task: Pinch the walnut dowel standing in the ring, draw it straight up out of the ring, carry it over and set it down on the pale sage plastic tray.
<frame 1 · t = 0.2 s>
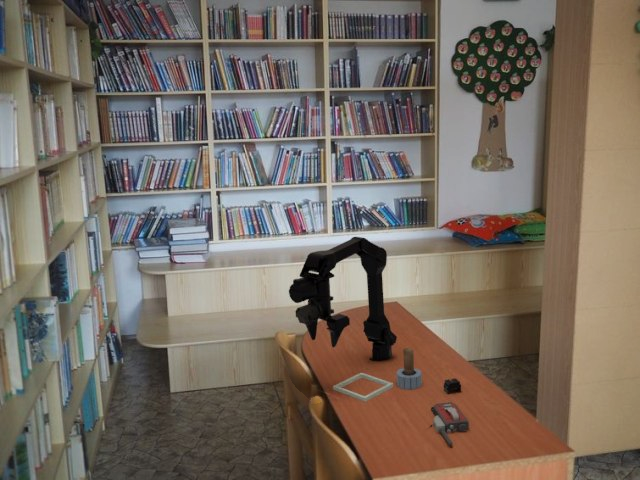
hand: (323, 343, 199), 14 cm above the table, fingers open, 9 cm apart
tray: (363, 390, 199), on the table
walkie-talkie: (450, 429, 174), on the table
dowel: (409, 383, 200), point 1 cm above the table, touching ring
black angular piece: (452, 396, 194), on the table
ring: (409, 386, 200), on the table
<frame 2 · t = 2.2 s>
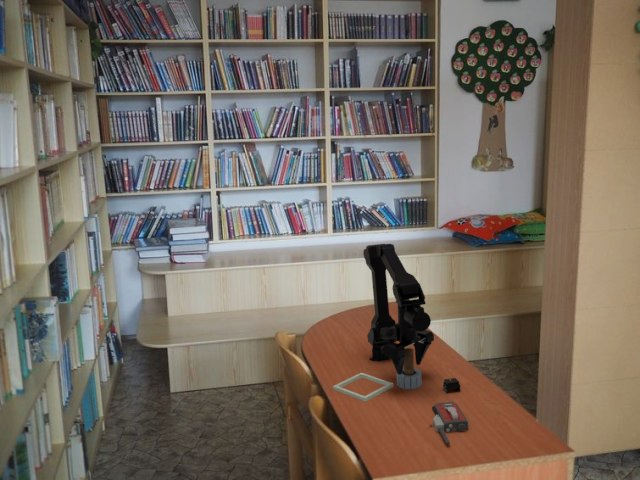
hand: (408, 369, 199), 6 cm above the table, fingers open, 9 cm apart
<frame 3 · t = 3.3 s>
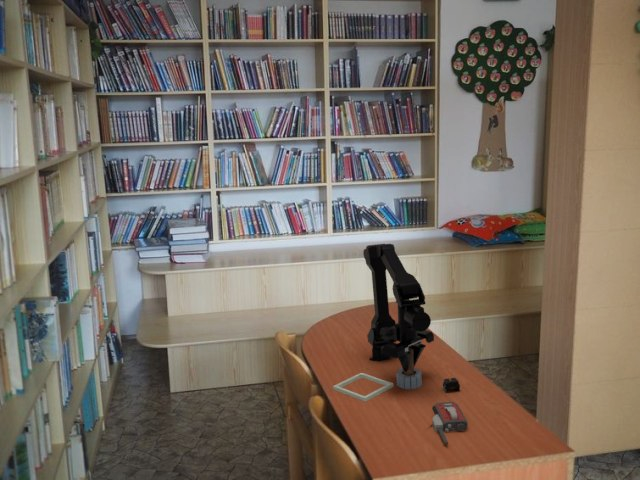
hand: (408, 369, 199), 6 cm above the table, fingers closed on dowel, 3 cm apart
dowel: (409, 383, 200), point 1 cm above the table, touching ring, gripper
everything else where it was.
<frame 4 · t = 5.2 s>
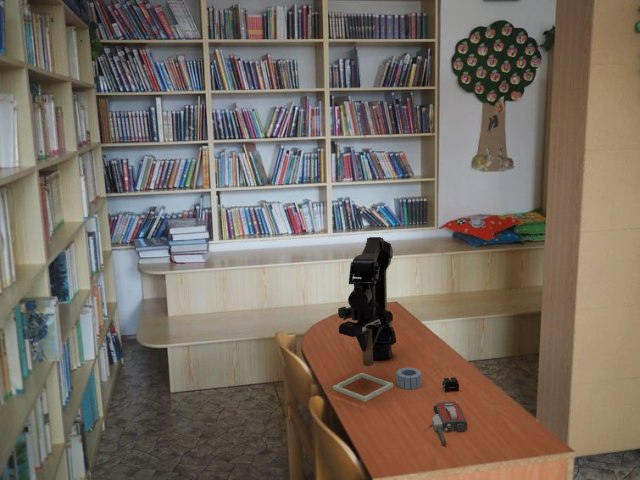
hand: (367, 349, 196), 13 cm above the table, fingers closed on dowel, 3 cm apart
dowel: (368, 364, 197), point 8 cm above the table, touching gripper
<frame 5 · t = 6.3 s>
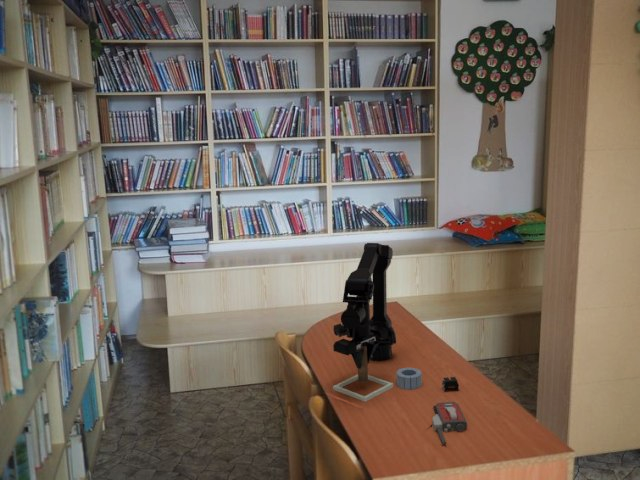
hand: (362, 366, 197), 8 cm above the table, fingers closed on dowel, 3 cm apart
dowel: (363, 381, 198), point 3 cm above the table, touching gripper
when the fingers open (6 cm above the table, at t = 7.2 s): dowel drops 1 cm, resting on tray.
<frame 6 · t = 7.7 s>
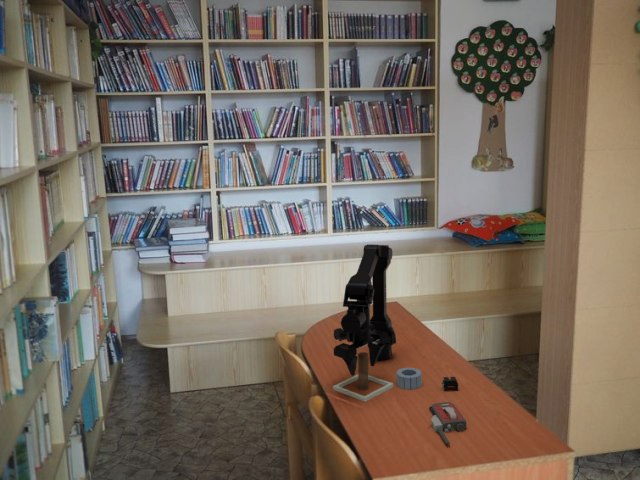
hand: (362, 370, 197), 6 cm above the table, fingers open, 9 cm apart
dowel: (363, 388, 199), point 1 cm above the table, touching tray
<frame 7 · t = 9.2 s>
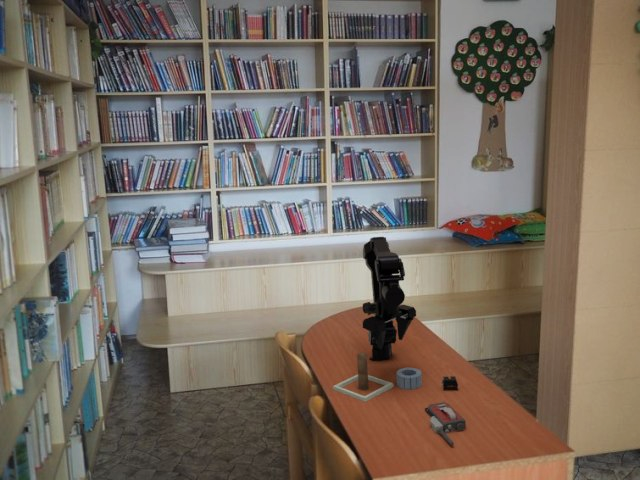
hand: (390, 344, 201), 12 cm above the table, fingers open, 9 cm apart
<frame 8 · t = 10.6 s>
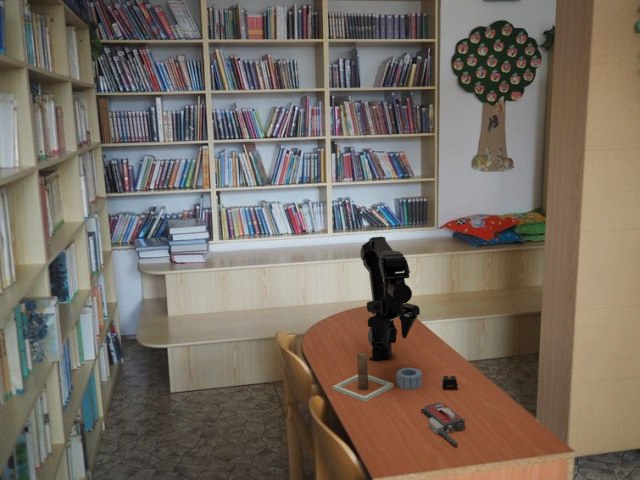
hand: (394, 342, 202), 13 cm above the table, fingers open, 9 cm apart
at the end: dowel inside the target area on the tray (0.1 cm from its centre), point 0.6 cm above the tray's base; dowel moved 14.2 cm from its start; the gripper is holding nothing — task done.
